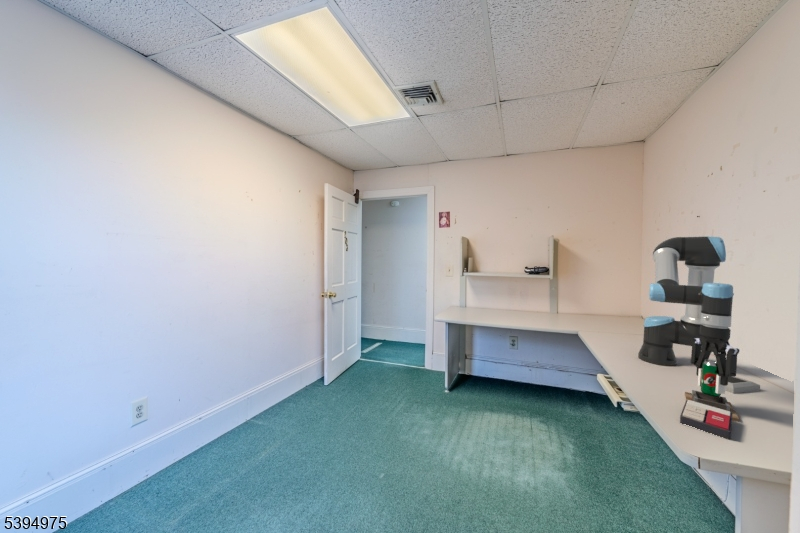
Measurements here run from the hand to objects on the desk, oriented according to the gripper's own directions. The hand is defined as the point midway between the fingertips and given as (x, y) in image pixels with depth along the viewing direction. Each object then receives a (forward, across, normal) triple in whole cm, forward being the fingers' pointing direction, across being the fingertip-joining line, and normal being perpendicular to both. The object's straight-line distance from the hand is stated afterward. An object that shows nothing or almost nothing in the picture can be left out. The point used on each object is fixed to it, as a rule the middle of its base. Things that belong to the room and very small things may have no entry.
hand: (710, 389), depth 106 cm
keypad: (+7, -15, +29) cm, 34 cm away
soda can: (+2, 0, 0) cm, 2 cm away
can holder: (+7, 0, 0) cm, 7 cm away
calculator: (+7, +9, -13) cm, 17 cm away
